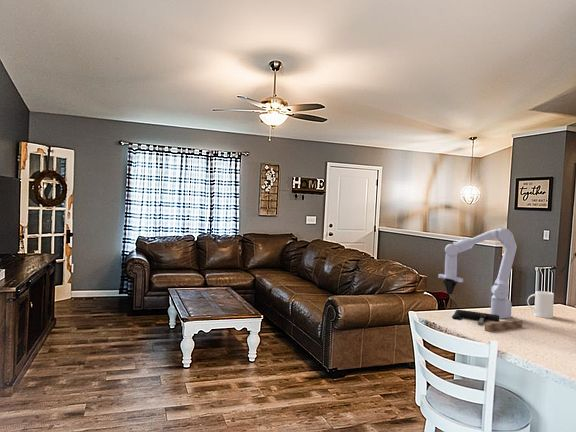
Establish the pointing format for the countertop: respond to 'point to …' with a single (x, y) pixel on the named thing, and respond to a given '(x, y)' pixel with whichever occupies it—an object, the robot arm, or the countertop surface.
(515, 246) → the robot arm
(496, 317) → the door handle
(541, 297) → the mug
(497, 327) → the bar
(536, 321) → the countertop surface
